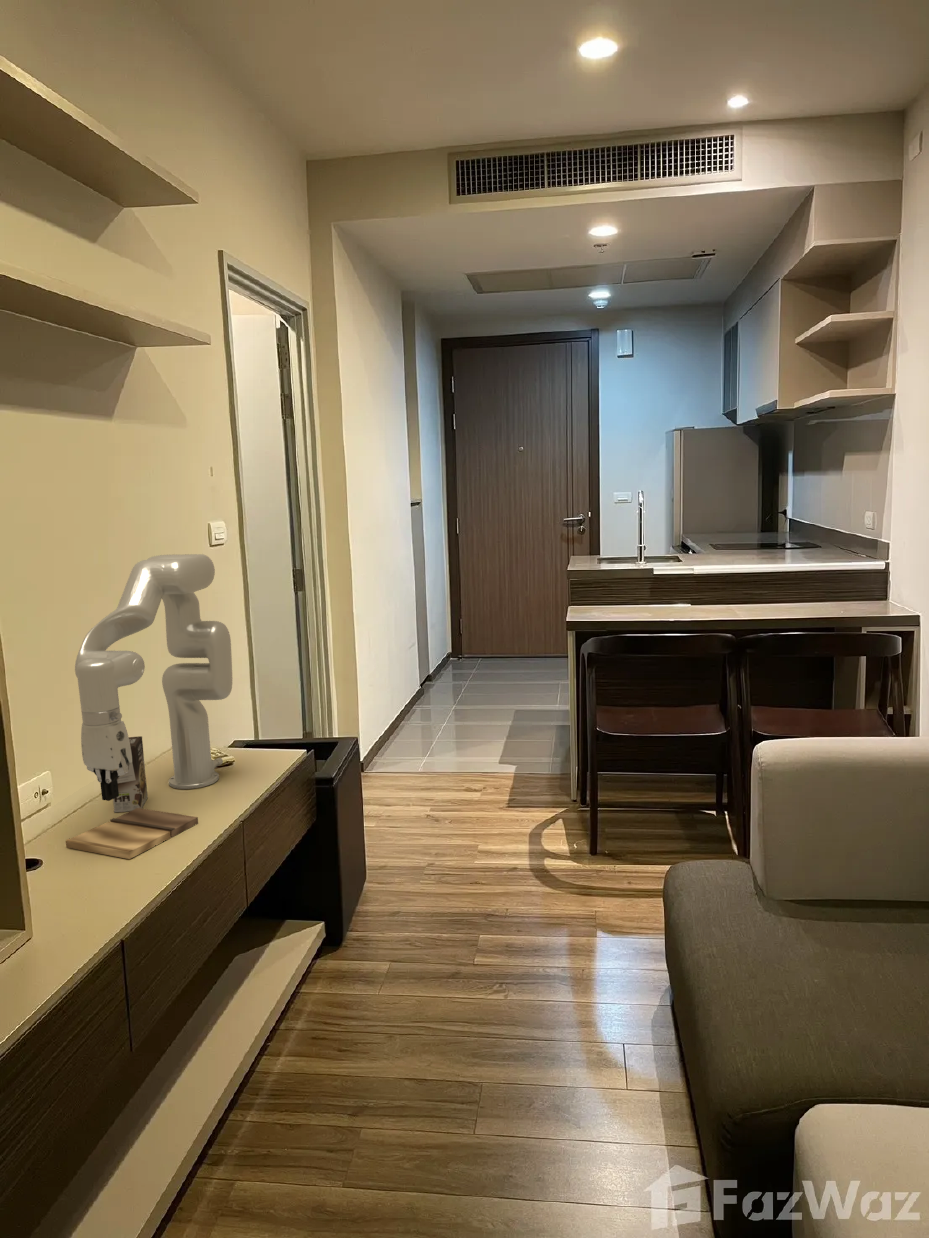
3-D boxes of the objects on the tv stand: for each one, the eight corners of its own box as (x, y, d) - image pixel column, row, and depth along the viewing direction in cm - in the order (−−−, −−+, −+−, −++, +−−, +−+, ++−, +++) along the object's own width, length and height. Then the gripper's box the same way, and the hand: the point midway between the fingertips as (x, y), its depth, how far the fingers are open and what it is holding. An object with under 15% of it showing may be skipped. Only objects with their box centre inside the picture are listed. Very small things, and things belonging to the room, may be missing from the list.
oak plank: (109, 827, 200) (108, 820, 199) (170, 838, 192) (169, 830, 192) (66, 847, 189) (65, 839, 188) (129, 859, 181) (128, 851, 181)
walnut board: (138, 813, 208) (137, 806, 207) (198, 823, 200) (197, 816, 200) (110, 826, 200) (110, 819, 200) (172, 837, 193) (171, 829, 192)
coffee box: (141, 810, 210) (135, 745, 207) (113, 813, 209) (107, 748, 206) (148, 797, 219) (143, 735, 216) (121, 800, 218) (115, 737, 215)
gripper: (141, 714, 186) (150, 796, 189) (89, 709, 192) (98, 788, 195) (114, 724, 179) (124, 809, 182) (61, 718, 185) (71, 800, 188)
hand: (110, 798), depth 189 cm, fingers closed
